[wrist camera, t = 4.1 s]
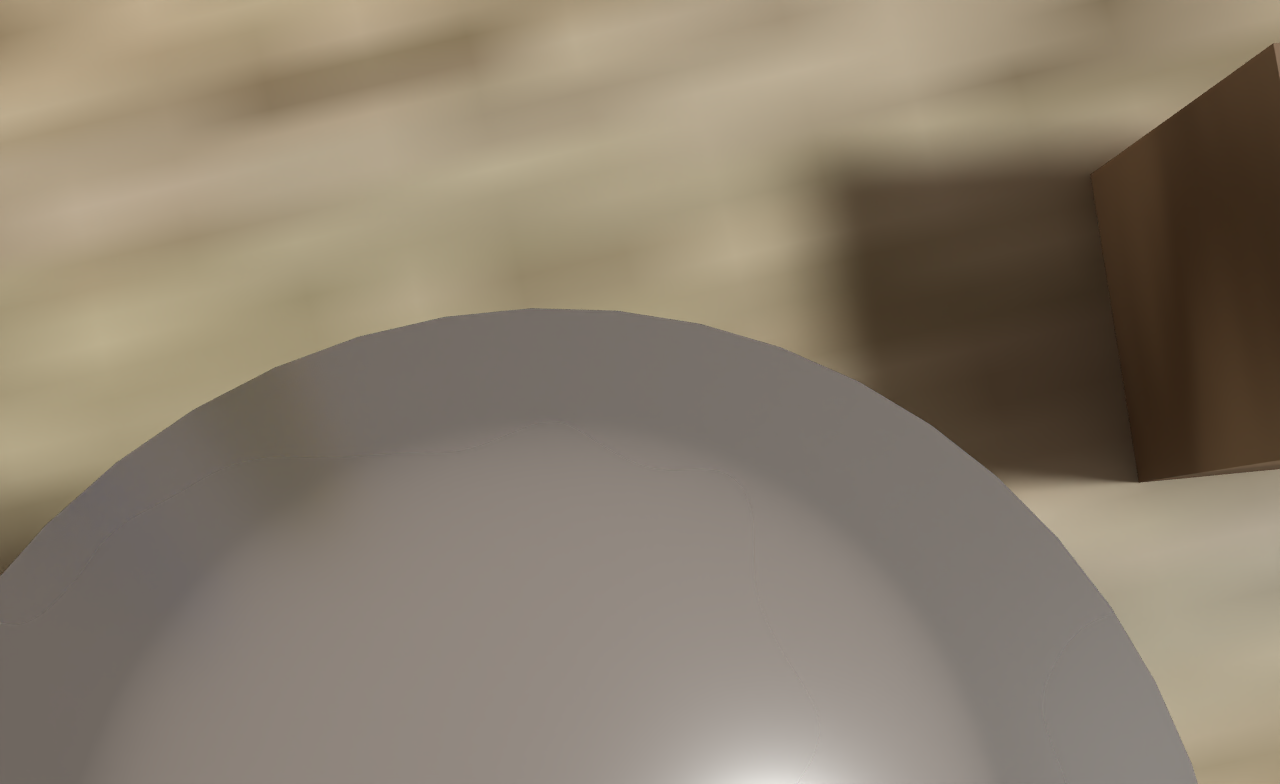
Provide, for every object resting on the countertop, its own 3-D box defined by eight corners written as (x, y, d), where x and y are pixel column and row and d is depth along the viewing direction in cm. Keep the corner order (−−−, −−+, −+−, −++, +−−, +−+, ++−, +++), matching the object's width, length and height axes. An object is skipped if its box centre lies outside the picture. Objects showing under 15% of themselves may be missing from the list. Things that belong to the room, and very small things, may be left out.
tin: (704, 893, 16) (1243, 1835, 4) (327, 872, 15) (-332, 1845, 4) (728, 520, 17) (1238, 368, 5) (368, 491, 16) (-60, 247, 4)
